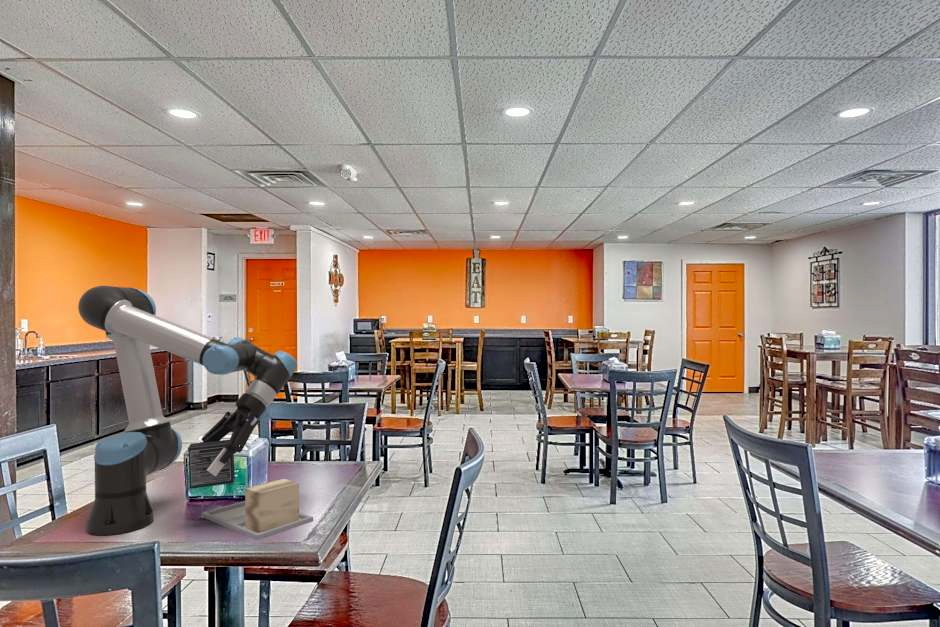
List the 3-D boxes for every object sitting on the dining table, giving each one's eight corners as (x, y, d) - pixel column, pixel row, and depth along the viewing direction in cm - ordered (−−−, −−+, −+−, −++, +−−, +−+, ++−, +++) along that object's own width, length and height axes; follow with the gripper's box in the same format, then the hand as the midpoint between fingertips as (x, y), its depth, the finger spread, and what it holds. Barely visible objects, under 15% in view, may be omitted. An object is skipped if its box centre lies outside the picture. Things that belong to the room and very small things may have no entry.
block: (245, 528, 144) (245, 488, 144) (283, 516, 152) (283, 478, 152) (260, 534, 139) (260, 493, 140) (299, 521, 148) (299, 483, 148)
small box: (235, 477, 153) (234, 438, 153) (234, 483, 147) (232, 442, 147) (191, 482, 149) (190, 442, 149) (188, 489, 143) (187, 447, 143)
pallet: (201, 522, 153) (201, 512, 153) (255, 506, 165) (255, 497, 165) (257, 546, 136) (257, 535, 136) (313, 526, 148) (313, 517, 148)
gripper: (287, 411, 152) (233, 485, 140) (243, 405, 167) (191, 471, 155) (269, 394, 148) (211, 468, 136) (225, 389, 163) (170, 456, 151)
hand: (200, 470), depth 145 cm, fingers closed on small box, 10 cm apart
